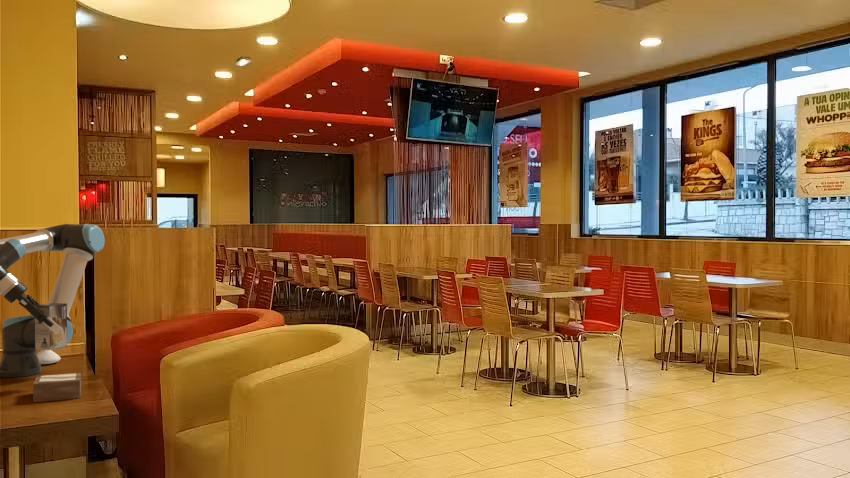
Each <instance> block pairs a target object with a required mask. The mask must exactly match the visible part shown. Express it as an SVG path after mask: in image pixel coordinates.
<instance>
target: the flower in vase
mask: <svg viewBox="0 0 850 478" xmlns="http://www.w3.org/2000/svg"><path fill="white" fill-rule="evenodd" d="M36 354H37V357H38V359H39V362H40V365H51V364H54V363H58V362H60V360H61V359H62V358H61V356H59V354H57V353H56V352H54V351H53V350H39V351H38V352H36Z"/></svg>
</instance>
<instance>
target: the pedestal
mask: <svg viewBox="0 0 850 478" xmlns="http://www.w3.org/2000/svg"><path fill="white" fill-rule="evenodd" d="M81 392H82V372H75V373H61V374H60V373H59V374H46V375H37V376H36V377H35V379H34V381H33V384H32V402H33V403H40V402H41V403H42V402H52V401H62V400H63V401H65V400H71V399H72V400H75V399H76V400H77V399H81Z"/></svg>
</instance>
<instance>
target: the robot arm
mask: <svg viewBox="0 0 850 478" xmlns="http://www.w3.org/2000/svg"><path fill="white" fill-rule="evenodd" d="M105 241H106V239H105V235H104V232H103V230H102V229H101V227H99V226H98V225H96V224H90V223H83V224H82V223H81V224H78V223H73V224H72V223H71V224H69V223H64V224H63V223H61V224H58V225H52V226H49V227H44V228H40V229H37V230H36V231H35V232H33V233H28V234H27V233H26V234H22V235H15V236H10V237H7V238H0V295H1V296H3V298H4V299H5V300H6V301H7V302H9V303H10V304H12V303H14V302H15V301H16V300H17V301H18V304H19V305H20V306H21V307H23V308H24V309H25V310H26V311H27V312H28V313H29V314H26V315H18V316H12V317H6V318H4V319H3V321H2V327H1V339H2V343H1V345H2V346H1V347H2V348H1V349H2V354H1V355H2V357H1V358H0V378H22V377H28V376H34V375H38V374H40V373H42V364H40V362H39V359H38V357H37V350H36V349H35V318H36V319H37V320H38V321H39V322H38V323H40V324H41V323H43V324H44V325H45V326H47V327H48V328H49V329H50V330H52V331H53V332H54V333H55V334H56V335H57V334H58V333H59V332H60V331H61V330H62V328H61V327H60V326H59V325H57V324H56V323H55V322H54V321H53V320H51V319H50V318H49V317H47V316H46V315H45V314H44V313H43V312H42V311H41V310H40V309H39V308H38V307H37V305H41V303H39V302H37V300H35V299H34V298H33V296H31V295H29V294H26V291H27V290H28V286H27V285H25V284H24V283H23V282H22V281H19V279H18V278H17V277H16V276H15V275H13V273H11V272H10V271H8V269H9V268H10V267H12V266H13V265H15V263H16V262H18V261H20V260H21V258H23V256H24V255H26V254H30V253H35V252H39V251H40V252H42V253H46V252H53V251H56V252H57V251H58V252H63V253H64V255H65V256H64V257H63V258H64V259H63V261H62V264H61V266H60V269H59V272H58V274H57V277H56V280H55V283H54V285H53V288H52V291H51V294H50V296H49V298H48V301H47V304H50V303H67V345H68V344H69V343H70V342H71V340H72V337H73V335H74V329H73V328H74V327H73V324H72V322H71V321H72V318H71V316H70V315H69V314H70V312H71V308H72V307H73V306H72V305H73V303H74V300H75V297H76V294H77V292H78V289H79V286H80V283H81V281H82V278H83V275H84V273H85V269H86V266H87V264H88V262H89V261H92V260H93V259H94V256H95V253H99V252H101V251H102V250H103V249H104V246H105ZM62 348H64V347H60V348H56V349H55V350H61V349H62ZM53 350H54V349H52V351H53Z"/></svg>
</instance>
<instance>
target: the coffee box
mask: <svg viewBox="0 0 850 478" xmlns="http://www.w3.org/2000/svg"><path fill="white" fill-rule="evenodd" d="M37 307H38V308H39V309H40V310H41V311H42V312H43V313H44V314H45V315H46V316H47V317H49V318H50V319H51V320H53V321H54V322H55V323H56V324H57V325H59V326H60V327H61V328H62V330H61V331H60V332H59V333H58V334H57V335H56V334H55V333H54V332H53V331H52V330H50V329H49V328H48V327H47V326H45V325H44V324H43V323H41V324H40V323H38V322H39V321H38V320H37V319H36V318H35V349H36V351H38V350H39V351H41V350H52V349H53V350H57V349H56V348H60V347H63V348H65V347H67V346H68V344H67V303H50V304H48V303H45V304H40V305H37ZM53 350H52V351H53Z"/></svg>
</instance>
